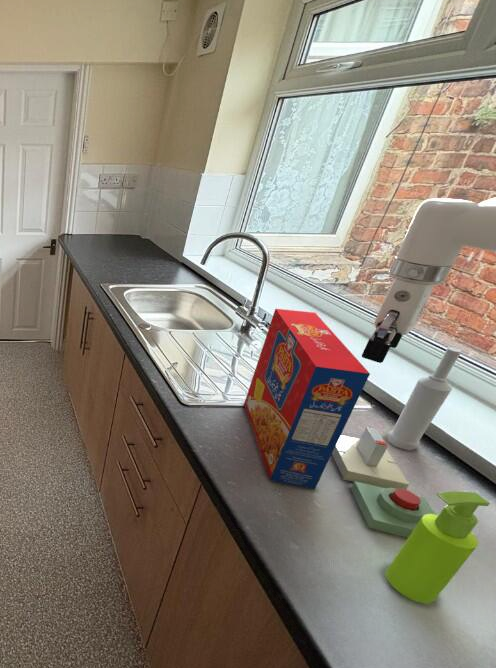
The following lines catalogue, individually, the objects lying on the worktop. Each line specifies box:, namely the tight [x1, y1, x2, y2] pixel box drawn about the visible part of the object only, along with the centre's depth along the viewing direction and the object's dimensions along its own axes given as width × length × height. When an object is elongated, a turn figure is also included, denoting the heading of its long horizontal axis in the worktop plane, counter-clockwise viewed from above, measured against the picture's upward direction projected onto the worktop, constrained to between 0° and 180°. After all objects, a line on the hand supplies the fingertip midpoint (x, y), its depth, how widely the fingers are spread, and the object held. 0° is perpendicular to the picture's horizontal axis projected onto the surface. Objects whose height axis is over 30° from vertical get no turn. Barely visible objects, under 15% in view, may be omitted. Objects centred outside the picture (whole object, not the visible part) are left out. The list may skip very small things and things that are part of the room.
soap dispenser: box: [385, 491, 490, 604], centre depth 63 cm, size 6×7×20 cm
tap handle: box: [356, 426, 388, 467], centre depth 88 cm, size 6×2×6 cm, turn 157°
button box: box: [350, 481, 436, 539], centre depth 78 cm, size 11×10×4 cm
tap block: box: [331, 434, 410, 490], centre depth 90 cm, size 13×10×3 cm
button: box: [391, 489, 421, 511], centre depth 77 cm, size 4×4×2 cm
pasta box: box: [243, 308, 371, 490], centre depth 92 cm, size 28×8×28 cm, turn 161°
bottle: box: [387, 346, 463, 451], centre depth 91 cm, size 5×5×25 cm
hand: (378, 352), depth 83 cm, fingers open, 9 cm apart
